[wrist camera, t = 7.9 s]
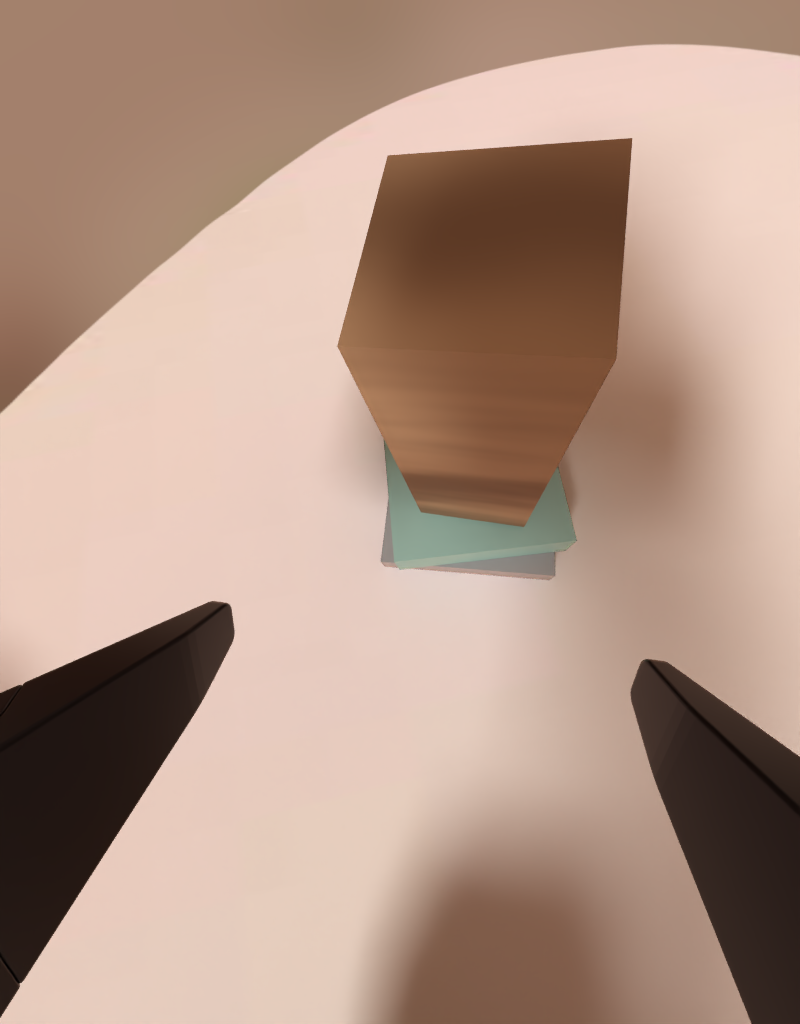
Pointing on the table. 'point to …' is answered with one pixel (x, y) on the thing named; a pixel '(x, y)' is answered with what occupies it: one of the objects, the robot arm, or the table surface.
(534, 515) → the teal tile
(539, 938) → the table surface
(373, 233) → the walnut pillar
